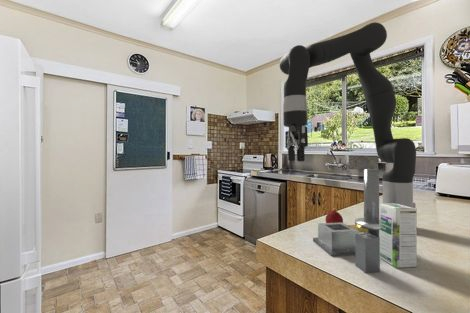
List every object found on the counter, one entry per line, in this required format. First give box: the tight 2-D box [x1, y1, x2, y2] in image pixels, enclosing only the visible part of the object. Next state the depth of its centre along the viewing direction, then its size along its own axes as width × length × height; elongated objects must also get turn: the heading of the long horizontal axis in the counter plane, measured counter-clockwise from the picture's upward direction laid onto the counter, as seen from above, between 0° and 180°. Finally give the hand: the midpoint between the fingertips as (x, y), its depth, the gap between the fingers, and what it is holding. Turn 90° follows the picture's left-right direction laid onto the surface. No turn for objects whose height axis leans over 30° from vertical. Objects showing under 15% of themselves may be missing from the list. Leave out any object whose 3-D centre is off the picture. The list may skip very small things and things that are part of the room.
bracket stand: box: [312, 168, 380, 257], centre depth 68 cm, size 20×11×23 cm, turn 96°
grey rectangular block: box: [355, 233, 381, 274], centre depth 54 cm, size 4×4×8 cm
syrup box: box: [379, 203, 418, 269], centre depth 57 cm, size 6×6×14 cm
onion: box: [325, 208, 344, 223], centre depth 82 cm, size 6×6×8 cm
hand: (295, 161), depth 74 cm, fingers open, 8 cm apart
